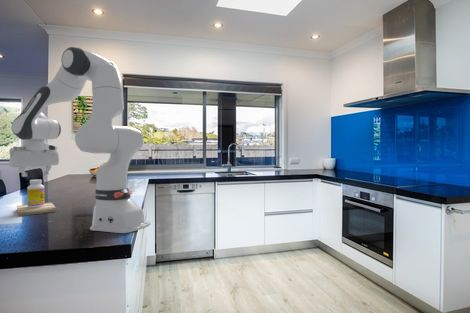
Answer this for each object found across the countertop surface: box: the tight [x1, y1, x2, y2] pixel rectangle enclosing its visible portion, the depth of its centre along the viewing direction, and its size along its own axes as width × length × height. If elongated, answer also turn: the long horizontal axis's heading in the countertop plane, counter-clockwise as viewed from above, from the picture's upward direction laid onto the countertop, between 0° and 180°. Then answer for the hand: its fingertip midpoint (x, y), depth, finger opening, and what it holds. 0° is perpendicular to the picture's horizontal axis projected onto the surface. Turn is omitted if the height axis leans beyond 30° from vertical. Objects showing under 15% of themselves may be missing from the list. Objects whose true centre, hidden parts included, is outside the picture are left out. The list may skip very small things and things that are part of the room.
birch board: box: [16, 202, 57, 217], centre depth 132 cm, size 16×14×2 cm
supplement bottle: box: [26, 179, 46, 208], centre depth 132 cm, size 7×7×13 cm
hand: (35, 175), depth 132 cm, fingers open, 8 cm apart
